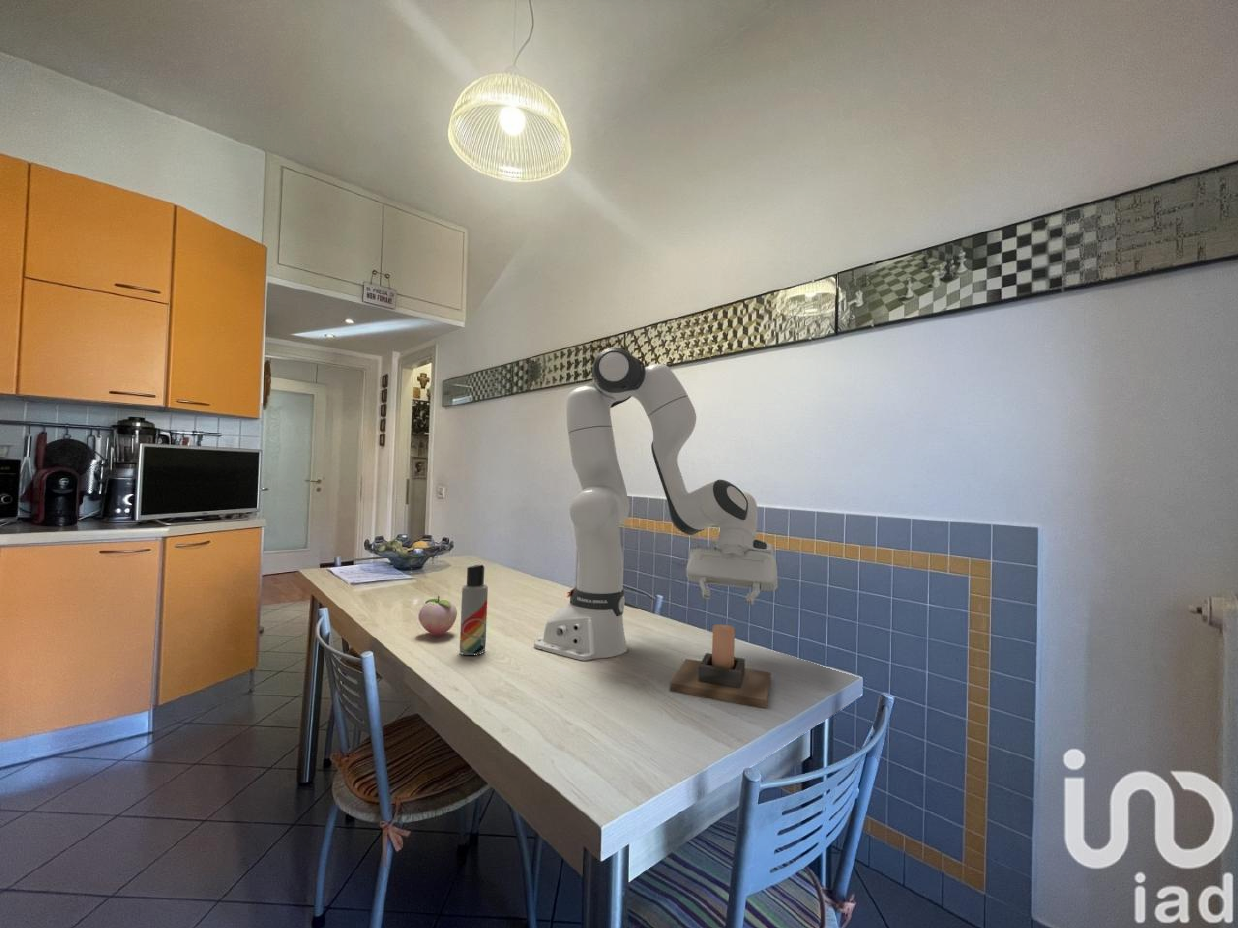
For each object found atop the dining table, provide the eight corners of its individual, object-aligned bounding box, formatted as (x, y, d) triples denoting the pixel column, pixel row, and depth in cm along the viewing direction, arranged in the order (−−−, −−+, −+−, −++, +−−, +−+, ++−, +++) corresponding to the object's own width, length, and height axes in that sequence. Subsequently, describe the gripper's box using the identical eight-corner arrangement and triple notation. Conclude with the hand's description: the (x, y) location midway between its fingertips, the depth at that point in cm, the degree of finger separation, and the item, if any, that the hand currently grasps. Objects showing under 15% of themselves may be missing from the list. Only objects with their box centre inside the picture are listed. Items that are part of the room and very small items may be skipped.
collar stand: (669, 690, 95) (670, 667, 95) (685, 665, 108) (686, 645, 108) (766, 708, 89) (766, 683, 89) (770, 679, 102) (770, 657, 102)
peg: (709, 679, 97) (711, 629, 97) (713, 671, 101) (714, 623, 102) (732, 683, 96) (733, 632, 96) (735, 675, 100) (736, 625, 100)
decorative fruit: (463, 633, 125) (465, 594, 126) (441, 643, 118) (443, 601, 118) (434, 628, 129) (436, 590, 129) (411, 637, 121) (413, 596, 121)
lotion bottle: (477, 657, 109) (481, 567, 110) (454, 655, 110) (458, 566, 111) (489, 649, 115) (492, 563, 115) (467, 646, 116) (470, 562, 116)
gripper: (689, 537, 117) (678, 586, 107) (779, 545, 110) (775, 598, 100) (692, 553, 121) (682, 601, 111) (779, 562, 114) (775, 614, 104)
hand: (727, 600), depth 106 cm, fingers open, 8 cm apart
